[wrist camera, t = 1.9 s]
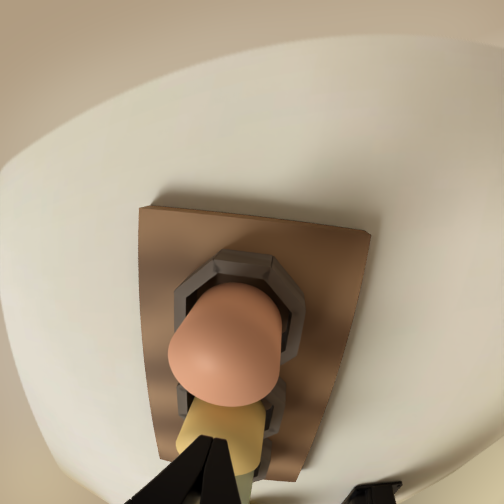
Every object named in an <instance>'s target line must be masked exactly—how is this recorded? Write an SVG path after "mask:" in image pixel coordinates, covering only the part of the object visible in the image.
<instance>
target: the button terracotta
mask: <svg viewBox="0 0 504 504" xmlns="http://www.w3.org/2000/svg"><path fill="white" fill-rule="evenodd" d="M281 337H282V319H281V315H280V312H279V310H278V308H277V306H276V304H275V303H274V302H273V300H272V299H271V298H270V297H269V296H268V295H267V294H266V293H264V292H263V291H261V290H260V289H258V288H256V287H254V286H251V285H248V284H244V283H238V282H228V283H222V284H219V285H216V286H214V287H212V288H210V289H208V290H207V291H206V292H205V293H203V294H202V296H201V297H200V298H199V299H198V301H197V302H196V304H195V305H194V306H193V308H192V309H191V311H190V312H189V313H188V315H187V316H186V318H185V319H184V321H183V322H182V324H181V325H180V326H179V328H178V329H177V331H176V332H175V334H174V335H173V337H172V339H171V341H170V344H169V348H168V361H169V365H170V368H171V370H172V373H173V374H174V376H175V378H176V379H177V380H178V382H179V383H180V384H181V385H182V386H183V387H184V388H185V389H186V390H187V391H188V392H190V393H191V394H193V395H194V396H196V397H197V398H199V399H201V400H203V401H206V402H208V403H211V404H215V405H219V406H227V407H237V406H244V405H249V404H252V403H254V402H257V401H259V400H261V399H262V398H264V397H265V396H266V395H268V394H269V393H270V392H271V391H272V389H273V388H274V386H275V385H276V383H277V381H278V377H279V372H280V356H281Z"/></svg>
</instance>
